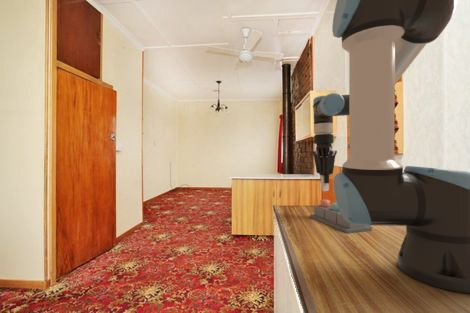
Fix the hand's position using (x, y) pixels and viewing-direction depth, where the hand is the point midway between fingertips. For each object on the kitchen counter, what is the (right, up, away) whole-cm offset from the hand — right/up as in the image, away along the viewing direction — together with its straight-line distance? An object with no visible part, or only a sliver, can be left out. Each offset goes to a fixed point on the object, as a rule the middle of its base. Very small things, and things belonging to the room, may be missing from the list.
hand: (324, 190), depth 95 cm
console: (+2, -11, -7) cm, 14 cm away
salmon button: (0, -8, 0) cm, 8 cm away
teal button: (+2, -8, -7) cm, 11 cm away
